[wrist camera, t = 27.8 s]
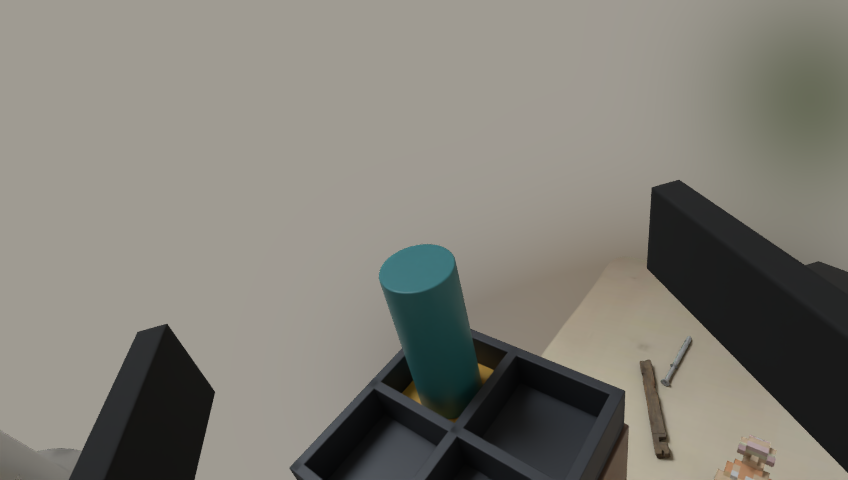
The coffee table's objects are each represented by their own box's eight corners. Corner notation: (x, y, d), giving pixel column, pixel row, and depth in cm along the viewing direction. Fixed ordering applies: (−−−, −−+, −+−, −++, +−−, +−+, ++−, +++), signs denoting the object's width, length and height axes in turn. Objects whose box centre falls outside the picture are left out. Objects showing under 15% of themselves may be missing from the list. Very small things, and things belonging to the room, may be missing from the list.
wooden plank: (651, 363, 61) (639, 364, 61) (650, 358, 60) (638, 359, 61) (671, 458, 51) (656, 458, 51) (669, 453, 50) (655, 453, 51)
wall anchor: (658, 380, 58) (665, 378, 58) (683, 335, 63) (690, 333, 62) (664, 386, 58) (671, 385, 58) (689, 341, 63) (695, 339, 62)
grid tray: (308, 497, 27) (288, 467, 25) (442, 345, 34) (433, 313, 33) (505, 670, 19) (495, 643, 18) (624, 426, 27) (625, 390, 25)
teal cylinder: (430, 429, 28) (387, 303, 23) (412, 379, 31) (371, 259, 26) (493, 404, 29) (466, 275, 23) (469, 357, 32) (441, 235, 26)
